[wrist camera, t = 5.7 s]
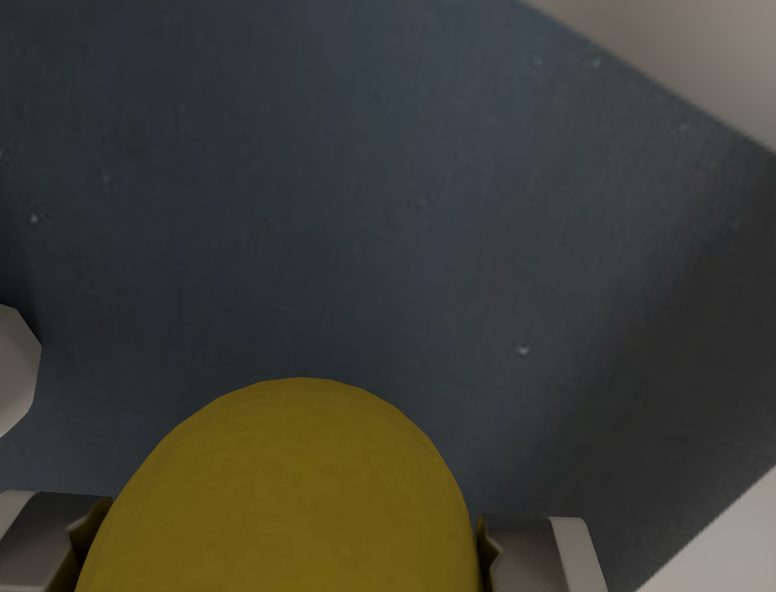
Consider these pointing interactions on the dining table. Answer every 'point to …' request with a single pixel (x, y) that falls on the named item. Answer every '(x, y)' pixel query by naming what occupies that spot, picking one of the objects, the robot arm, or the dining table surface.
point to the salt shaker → (16, 367)
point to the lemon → (289, 502)
